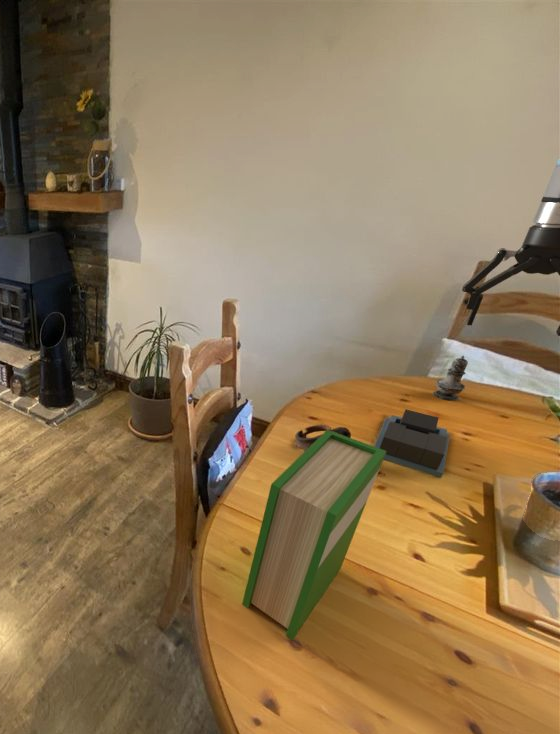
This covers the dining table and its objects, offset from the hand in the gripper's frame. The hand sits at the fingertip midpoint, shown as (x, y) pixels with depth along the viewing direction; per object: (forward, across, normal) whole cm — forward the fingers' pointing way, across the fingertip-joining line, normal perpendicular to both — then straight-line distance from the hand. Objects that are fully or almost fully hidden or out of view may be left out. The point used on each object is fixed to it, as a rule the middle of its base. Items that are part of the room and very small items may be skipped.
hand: (512, 328), depth 90 cm
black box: (+23, -10, -16) cm, 30 cm away
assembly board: (+24, -10, -19) cm, 32 cm away
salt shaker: (+25, -5, +14) cm, 29 cm away
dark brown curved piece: (+24, -24, -34) cm, 48 cm away
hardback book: (+24, -20, -74) cm, 80 cm away
